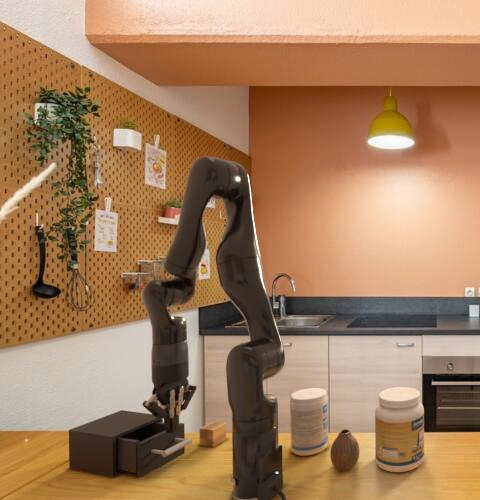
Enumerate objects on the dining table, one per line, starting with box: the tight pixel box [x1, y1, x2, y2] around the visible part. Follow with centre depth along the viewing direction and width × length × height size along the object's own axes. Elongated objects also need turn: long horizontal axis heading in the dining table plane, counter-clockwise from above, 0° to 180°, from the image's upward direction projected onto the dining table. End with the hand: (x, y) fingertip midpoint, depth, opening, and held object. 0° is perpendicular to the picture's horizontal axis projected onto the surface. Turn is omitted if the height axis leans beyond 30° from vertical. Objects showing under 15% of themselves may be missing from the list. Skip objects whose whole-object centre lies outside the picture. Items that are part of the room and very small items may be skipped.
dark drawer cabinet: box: [68, 409, 164, 478], centre depth 103 cm, size 15×13×10 cm
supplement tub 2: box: [374, 386, 425, 473], centre depth 101 cm, size 12×12×17 cm
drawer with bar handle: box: [116, 422, 193, 478], centre depth 100 cm, size 18×11×8 cm, turn 74°
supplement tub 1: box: [289, 387, 329, 457], centre depth 108 cm, size 10×10×15 cm
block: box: [199, 421, 227, 448], centre depth 112 cm, size 5×5×5 cm
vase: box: [329, 428, 360, 472], centre depth 99 cm, size 7×7×9 cm
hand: (171, 431), depth 98 cm, fingers closed
